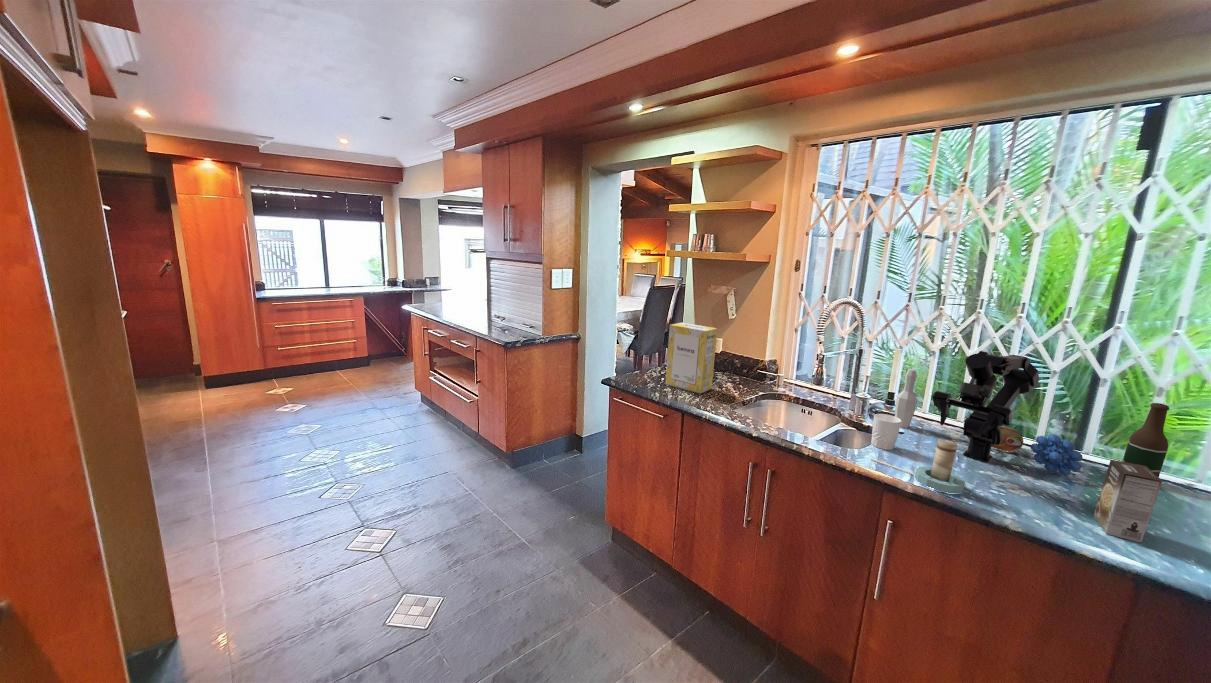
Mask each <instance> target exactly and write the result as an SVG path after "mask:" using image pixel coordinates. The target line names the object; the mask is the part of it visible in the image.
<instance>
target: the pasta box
mask: <svg viewBox="0 0 1211 683" xmlns="http://www.w3.org/2000/svg"><path fill="white" fill-rule="evenodd" d="M668 331H669V332H668V342H667V345H668V346H667V355H666V357H667V358H666V359H667V360H666V368H665V369H666V370H665V385H667V386H671V387H673V388H678V389H681V390H686V391H689V392H692V393H696V394H700V395H701V394H702V393H705V392H707V391H709V390H712V388H713V387H712V386H713V379H714V377H713V376H714V367H715V359H716V358H715V356H716V349H717V348H716V347H717V337H718V328H717V327H712V326H705V325H699V324H693V323H687V322H677V323H672V324H669V330H668Z"/></svg>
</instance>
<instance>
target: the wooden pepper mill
mask: <svg viewBox="0 0 1211 683" xmlns="http://www.w3.org/2000/svg"><path fill="white" fill-rule="evenodd" d="M935 448H936V449H935V452H934V457H933V462H932V466H931V467H932V470H931V475H930V477H931V478H934V479H937V480H939V481H944V482H949V480H950V475H951V472H952V470H953V466H954V462H955V456H956V454H957V453H956V452H957V450H958V444H957V443H955V442H953V441H951V440H946V439H938V440H937V443H936V447H935Z"/></svg>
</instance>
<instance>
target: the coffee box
mask: <svg viewBox="0 0 1211 683" xmlns="http://www.w3.org/2000/svg"><path fill="white" fill-rule="evenodd" d="M1109 460H1110V462H1109V464H1108V468H1107V470H1106V474H1105V478H1104V481H1103V483H1102V486H1101V490H1100V493H1099V497H1098V500H1097V504H1096V508H1095V511H1094V513H1093V514H1094V515H1093V518H1094V519H1095V520H1096V522H1097V523H1098V524H1099V526H1100V527H1101V529H1102V530H1103V532H1104V533H1105V534H1107V535H1110V536H1113V537H1117V538H1120V539H1121V538H1122V539H1126V540H1130V541H1133V542H1137V543H1143V539H1144V537H1145V534H1146V531H1147V528H1148V526H1149V522H1150V519H1151V516H1152V513H1153V511H1154V508H1155V504H1156V501H1157V498H1158V496H1159V493H1160V490H1161V487H1162V483H1163V480H1162V479H1160V477H1159V478H1158V477H1157V476H1156V475H1155V474H1154V473H1153V472H1152V471H1151V470H1150V469H1149V468H1148V467H1147V466H1143V465H1137V464H1132V463H1127V462H1122V461H1123V460H1122V461H1120V460H1116V459H1109Z"/></svg>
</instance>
